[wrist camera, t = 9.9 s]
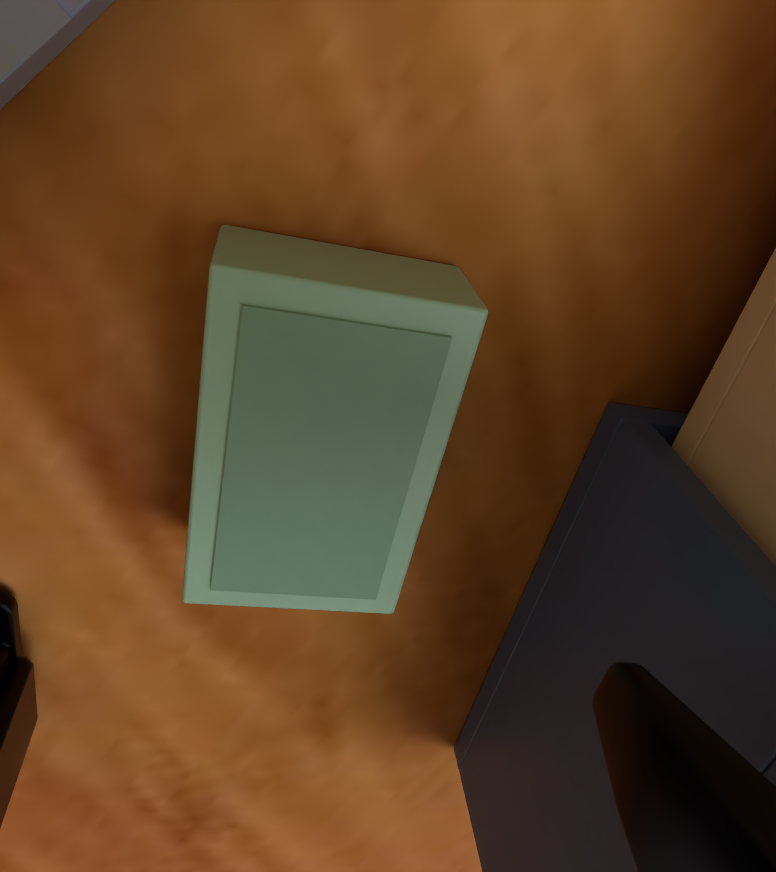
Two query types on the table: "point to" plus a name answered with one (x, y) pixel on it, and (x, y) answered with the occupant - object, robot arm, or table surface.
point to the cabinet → (617, 648)
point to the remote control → (38, 36)
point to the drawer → (741, 420)
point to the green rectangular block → (321, 419)
